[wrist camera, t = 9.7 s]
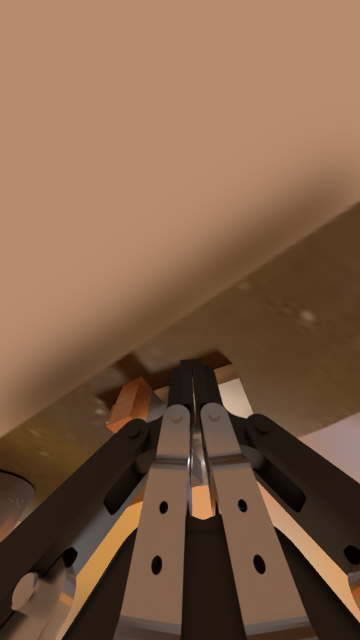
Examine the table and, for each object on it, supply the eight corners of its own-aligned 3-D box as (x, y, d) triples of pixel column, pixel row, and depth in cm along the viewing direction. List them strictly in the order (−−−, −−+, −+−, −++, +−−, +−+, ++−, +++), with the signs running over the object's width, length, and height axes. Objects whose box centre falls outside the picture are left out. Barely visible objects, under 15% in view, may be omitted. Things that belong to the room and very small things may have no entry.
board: (168, 466, 24) (167, 487, 22) (112, 405, 19) (104, 425, 17) (265, 441, 22) (274, 463, 19) (232, 363, 16) (239, 380, 14)
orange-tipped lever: (238, 452, 19) (251, 498, 15) (184, 469, 20) (185, 515, 17) (167, 361, 13) (163, 401, 10) (101, 394, 15) (78, 438, 12)
